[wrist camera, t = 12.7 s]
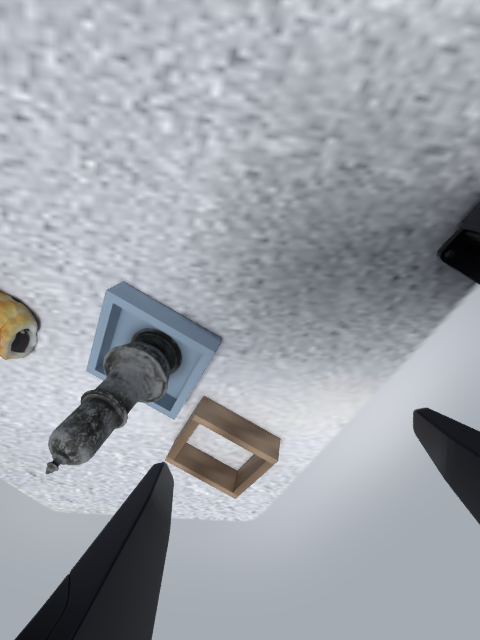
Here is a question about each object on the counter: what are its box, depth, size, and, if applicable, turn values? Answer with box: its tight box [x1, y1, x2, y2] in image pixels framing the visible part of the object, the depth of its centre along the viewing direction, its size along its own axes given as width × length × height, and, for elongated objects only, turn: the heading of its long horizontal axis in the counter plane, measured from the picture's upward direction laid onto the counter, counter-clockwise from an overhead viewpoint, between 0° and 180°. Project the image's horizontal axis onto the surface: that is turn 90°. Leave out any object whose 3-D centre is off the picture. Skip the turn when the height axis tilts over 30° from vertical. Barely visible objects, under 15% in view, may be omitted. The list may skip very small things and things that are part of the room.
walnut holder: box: [165, 396, 280, 499], centre depth 28 cm, size 9×9×2 cm
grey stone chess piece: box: [46, 328, 182, 474], centre depth 19 cm, size 6×6×12 cm
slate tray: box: [86, 282, 222, 420], centre depth 24 cm, size 10×10×2 cm
